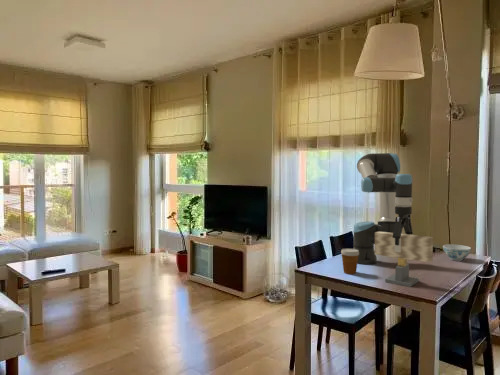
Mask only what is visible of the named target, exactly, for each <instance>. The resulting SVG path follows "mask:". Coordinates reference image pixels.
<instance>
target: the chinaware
mask: <svg viewBox="0 0 500 375" xmlns="http://www.w3.org/2000/svg"><path fill="white" fill-rule="evenodd" d="M442 249H443V251H444V253H445V254H446V256H447V257H448V258H449V259H450V260H452V261H456V262H462V261H463V259H465V258H467V257H468V256H469V254H470V253H471V251H472V247H470V246H467V245H462V244H453V243H452V244H449V243H448V244H443V245H442Z"/></svg>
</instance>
